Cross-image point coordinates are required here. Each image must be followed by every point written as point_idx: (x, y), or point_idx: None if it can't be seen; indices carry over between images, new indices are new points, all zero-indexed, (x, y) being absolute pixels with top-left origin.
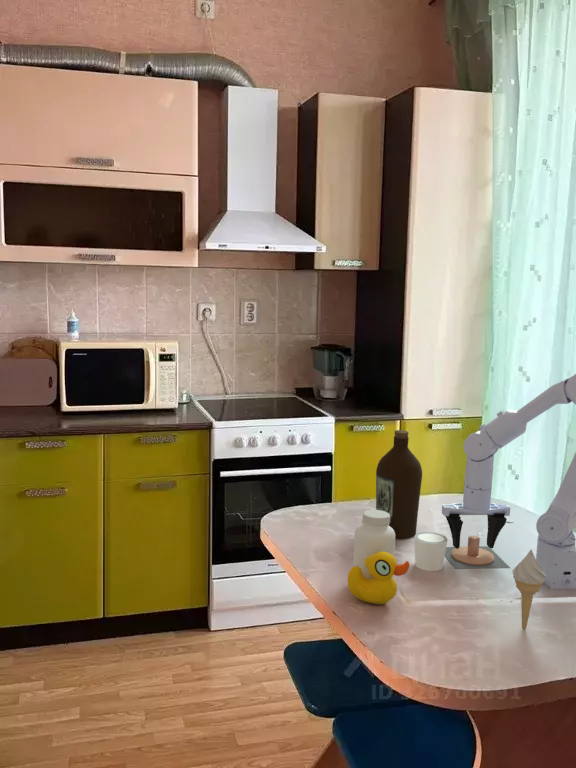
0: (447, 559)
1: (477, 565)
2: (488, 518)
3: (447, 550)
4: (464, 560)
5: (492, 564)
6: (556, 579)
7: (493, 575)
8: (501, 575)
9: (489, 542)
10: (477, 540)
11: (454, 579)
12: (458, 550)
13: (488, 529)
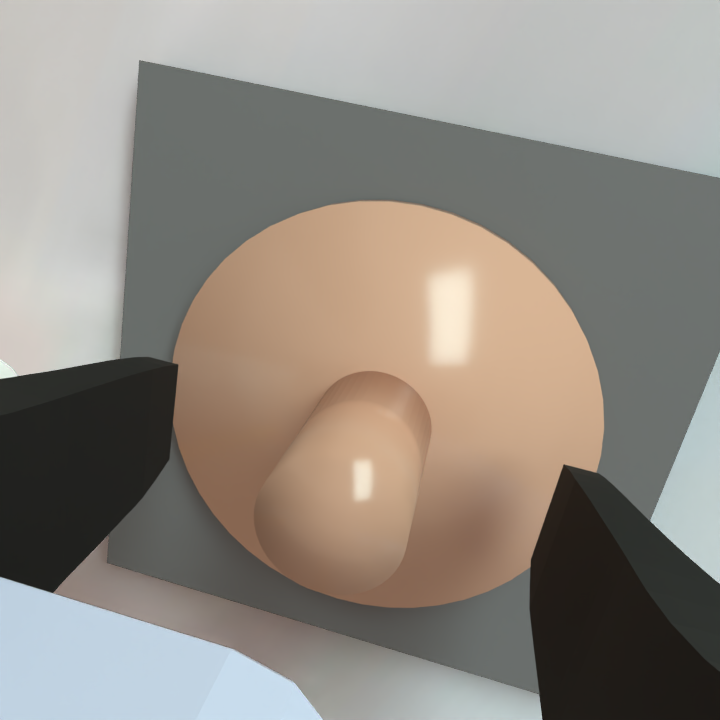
0: None
1: None
2: (685, 713)
3: (209, 186)
4: (218, 514)
5: (459, 606)
6: None
7: (385, 679)
8: (447, 701)
9: (546, 564)
10: (340, 587)
11: None
12: (279, 289)
13: (617, 581)
